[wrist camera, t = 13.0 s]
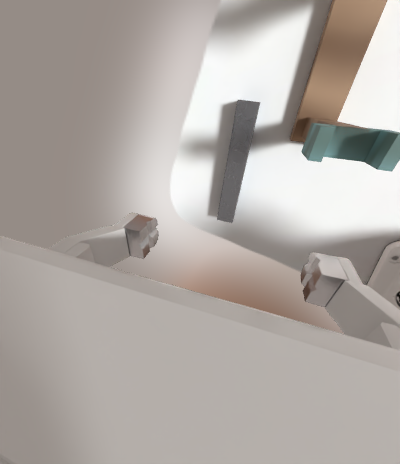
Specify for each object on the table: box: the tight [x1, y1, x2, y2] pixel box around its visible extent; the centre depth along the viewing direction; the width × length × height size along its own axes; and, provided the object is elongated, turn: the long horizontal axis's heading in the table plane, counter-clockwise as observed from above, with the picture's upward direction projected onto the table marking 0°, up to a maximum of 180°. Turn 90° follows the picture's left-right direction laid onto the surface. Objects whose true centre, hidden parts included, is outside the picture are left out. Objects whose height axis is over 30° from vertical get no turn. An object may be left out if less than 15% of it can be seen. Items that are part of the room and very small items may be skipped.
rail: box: [217, 100, 260, 223], centre depth 27 cm, size 16×2×2 cm, turn 175°
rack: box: [290, 0, 400, 171], centre depth 14 cm, size 15×5×14 cm, turn 176°
